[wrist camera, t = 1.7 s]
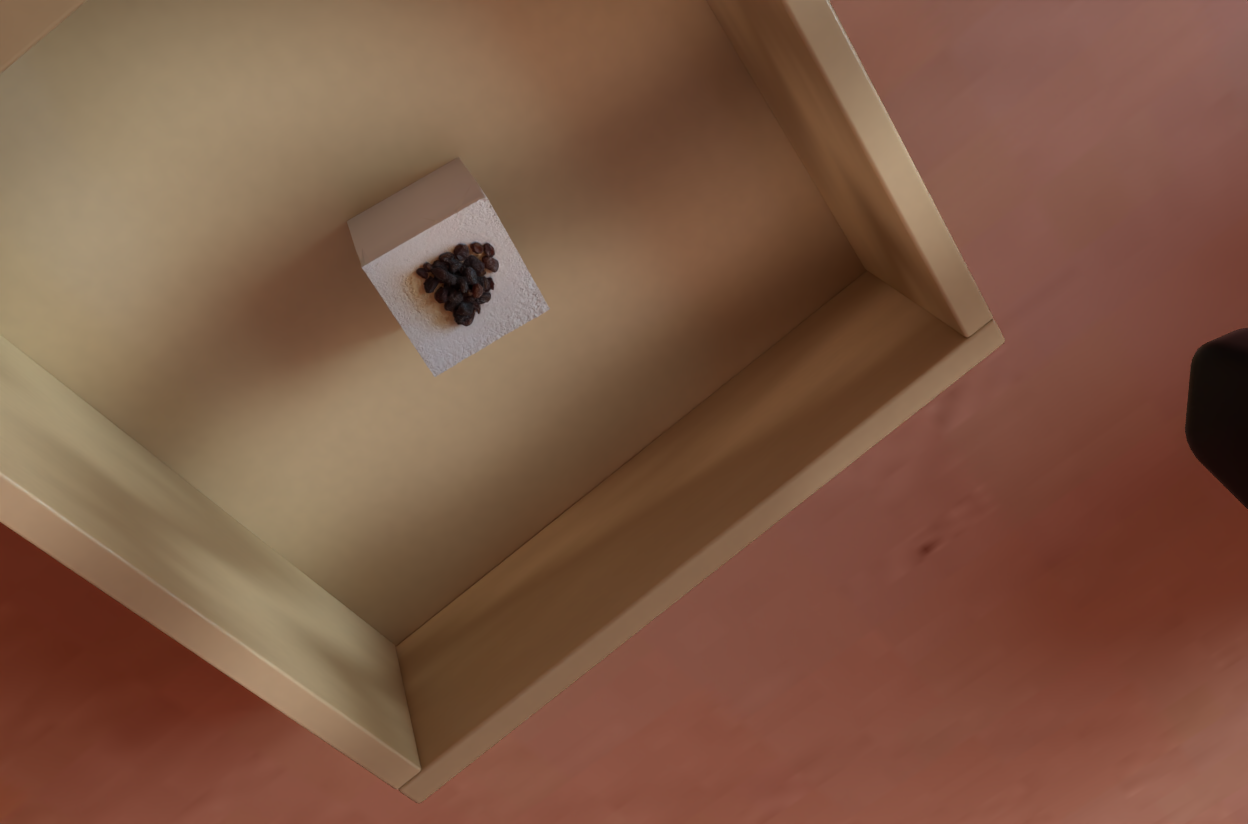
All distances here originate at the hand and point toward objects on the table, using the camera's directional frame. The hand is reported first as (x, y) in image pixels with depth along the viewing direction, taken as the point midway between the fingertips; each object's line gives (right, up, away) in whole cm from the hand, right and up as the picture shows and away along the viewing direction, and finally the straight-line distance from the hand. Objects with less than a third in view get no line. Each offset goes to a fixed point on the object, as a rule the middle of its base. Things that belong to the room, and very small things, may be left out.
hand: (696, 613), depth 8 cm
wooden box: (-4, +4, +11) cm, 12 cm away
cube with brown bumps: (-4, +4, +11) cm, 12 cm away
